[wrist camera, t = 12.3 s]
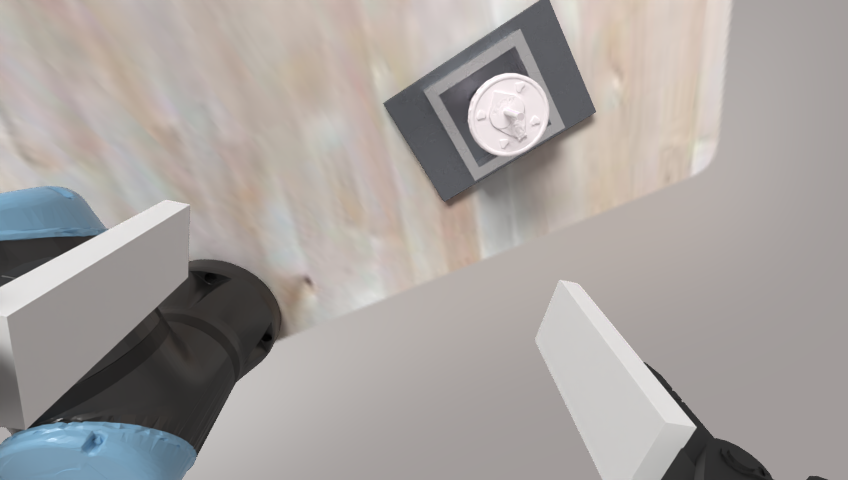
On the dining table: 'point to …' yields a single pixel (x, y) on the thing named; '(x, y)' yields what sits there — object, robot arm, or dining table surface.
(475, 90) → the collar
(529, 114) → the smoothie
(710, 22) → the dining table surface
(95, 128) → the dining table surface
